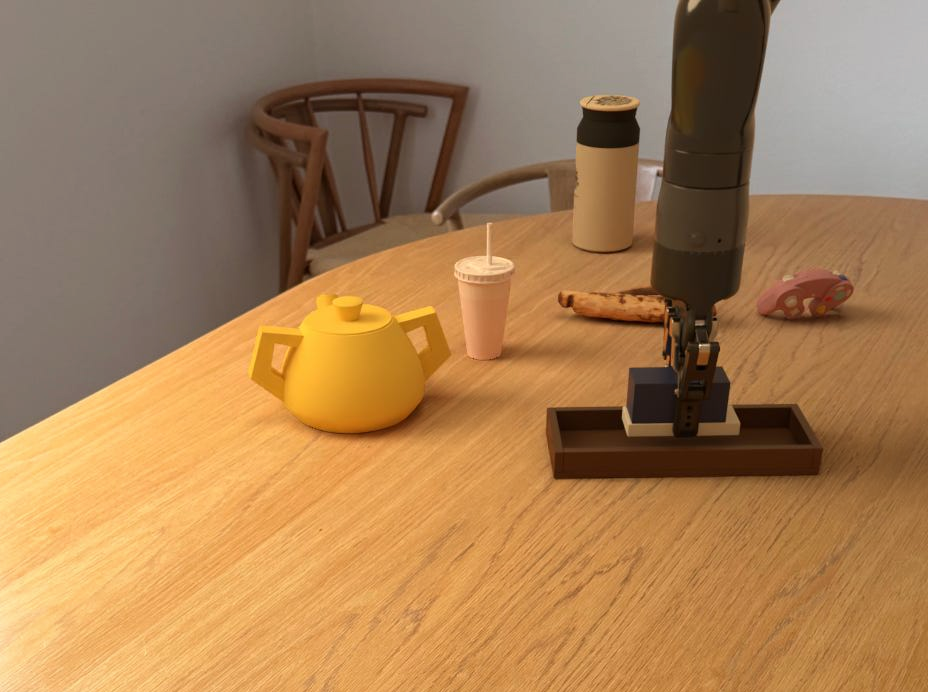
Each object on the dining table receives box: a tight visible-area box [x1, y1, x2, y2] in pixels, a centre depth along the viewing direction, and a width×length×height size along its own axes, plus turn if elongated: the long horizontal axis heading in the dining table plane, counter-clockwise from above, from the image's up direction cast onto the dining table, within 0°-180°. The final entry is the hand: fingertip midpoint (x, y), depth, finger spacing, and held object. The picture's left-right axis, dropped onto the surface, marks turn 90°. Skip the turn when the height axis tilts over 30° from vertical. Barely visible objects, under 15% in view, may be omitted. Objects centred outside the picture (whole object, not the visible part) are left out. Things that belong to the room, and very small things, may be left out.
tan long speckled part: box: [557, 284, 718, 324], centre depth 144 cm, size 9×5×18 cm
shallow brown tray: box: [545, 403, 824, 479], centre depth 115 cm, size 24×10×3 cm, turn 91°
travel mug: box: [571, 94, 641, 254], centre depth 162 cm, size 8×8×18 cm
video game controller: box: [756, 268, 855, 321], centre depth 143 cm, size 10×5×7 cm, turn 104°
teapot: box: [247, 293, 453, 434], centre depth 123 cm, size 20×18×11 cm
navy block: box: [622, 365, 740, 437], centre depth 113 cm, size 10×4×5 cm, turn 91°
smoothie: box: [453, 222, 516, 361], centre depth 132 cm, size 6×6×14 cm
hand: (680, 423), depth 114 cm, fingers closed on navy block, 4 cm apart
